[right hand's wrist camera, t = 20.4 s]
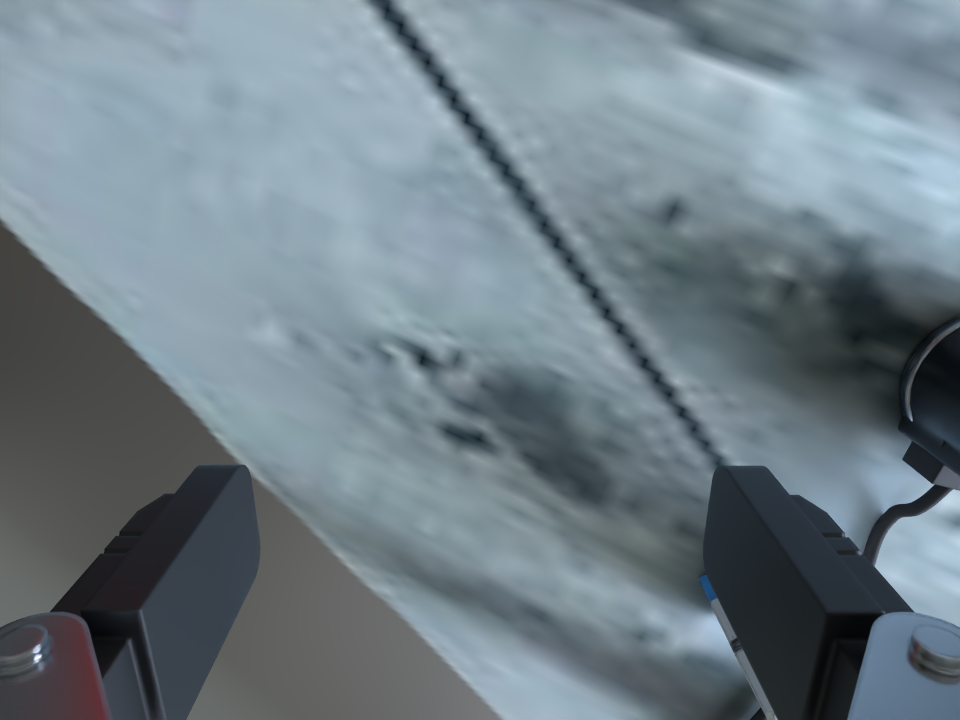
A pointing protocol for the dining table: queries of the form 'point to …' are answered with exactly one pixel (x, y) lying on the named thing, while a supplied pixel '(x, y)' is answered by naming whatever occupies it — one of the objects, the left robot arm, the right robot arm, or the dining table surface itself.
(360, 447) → the dining table surface
